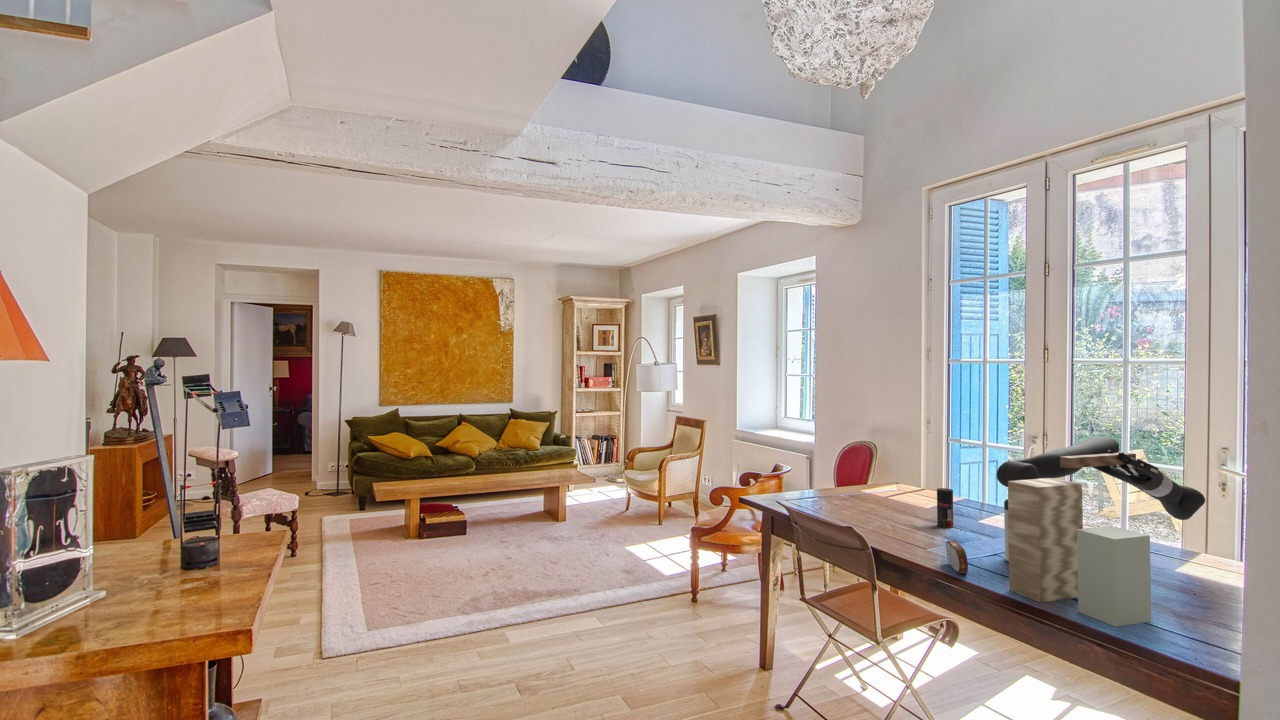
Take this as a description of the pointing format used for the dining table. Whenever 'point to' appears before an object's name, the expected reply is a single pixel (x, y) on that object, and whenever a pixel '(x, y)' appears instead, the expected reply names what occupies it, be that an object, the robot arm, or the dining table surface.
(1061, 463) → the walnut bar
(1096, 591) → the green plinth
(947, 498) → the deodorant
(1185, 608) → the dining table surface
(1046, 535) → the stand
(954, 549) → the tin
